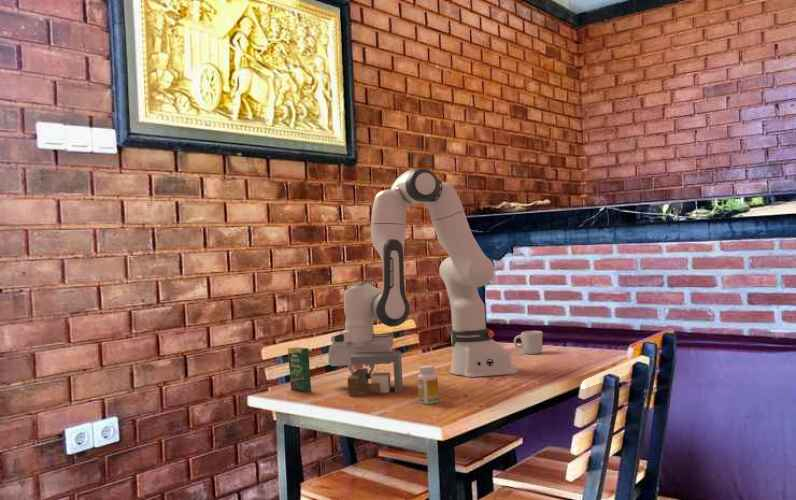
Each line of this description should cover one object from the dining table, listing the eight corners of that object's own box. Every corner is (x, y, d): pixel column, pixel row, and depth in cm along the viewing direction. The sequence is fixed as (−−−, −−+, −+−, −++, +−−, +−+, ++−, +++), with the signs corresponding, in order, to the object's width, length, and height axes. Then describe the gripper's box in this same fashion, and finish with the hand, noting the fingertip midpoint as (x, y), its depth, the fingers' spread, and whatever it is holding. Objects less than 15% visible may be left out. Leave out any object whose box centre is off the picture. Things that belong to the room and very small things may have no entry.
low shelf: (402, 387, 196) (400, 350, 196) (400, 392, 188) (398, 355, 188) (357, 388, 198) (355, 352, 198) (352, 394, 190) (350, 357, 190)
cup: (514, 355, 241) (513, 334, 241) (514, 352, 249) (513, 331, 249) (544, 354, 239) (543, 333, 239) (543, 351, 247) (541, 330, 247)
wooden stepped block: (387, 383, 203) (386, 367, 203) (378, 394, 187) (377, 377, 187) (359, 384, 204) (358, 368, 204) (348, 395, 189) (347, 378, 189)
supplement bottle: (441, 399, 177) (439, 364, 177) (435, 404, 172) (433, 368, 172) (422, 399, 179) (420, 364, 179) (416, 404, 174) (414, 367, 174)
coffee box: (289, 389, 203) (287, 347, 203) (297, 387, 205) (295, 346, 205) (303, 392, 197) (301, 349, 197) (311, 390, 198) (309, 348, 198)
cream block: (390, 388, 195) (389, 372, 195) (388, 392, 190) (388, 375, 190) (374, 389, 196) (373, 372, 196) (372, 393, 191) (371, 376, 191)
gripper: (393, 331, 204) (396, 375, 204) (330, 334, 206) (332, 378, 206) (391, 334, 198) (394, 379, 198) (325, 337, 200) (328, 382, 200)
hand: (362, 378), depth 202 cm, fingers closed on wooden stepped block, 3 cm apart
